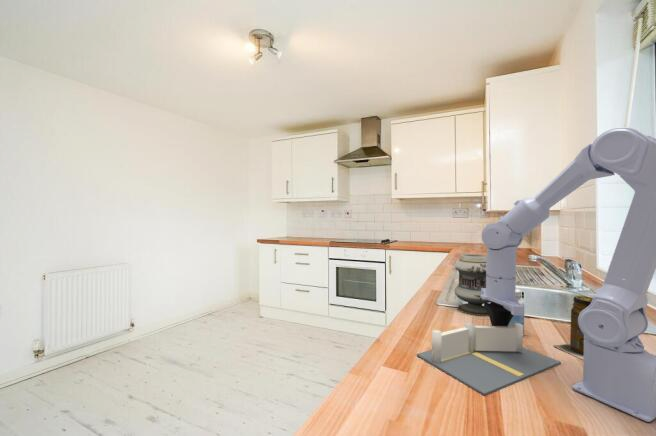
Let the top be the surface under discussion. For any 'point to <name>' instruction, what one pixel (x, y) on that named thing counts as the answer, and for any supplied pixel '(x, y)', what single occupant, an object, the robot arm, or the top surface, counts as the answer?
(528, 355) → the board
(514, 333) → the fence panel
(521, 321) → the pill bottle
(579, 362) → the top surface
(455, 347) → the fixed fence section
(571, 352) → the condiment
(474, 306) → the apothecary jar
